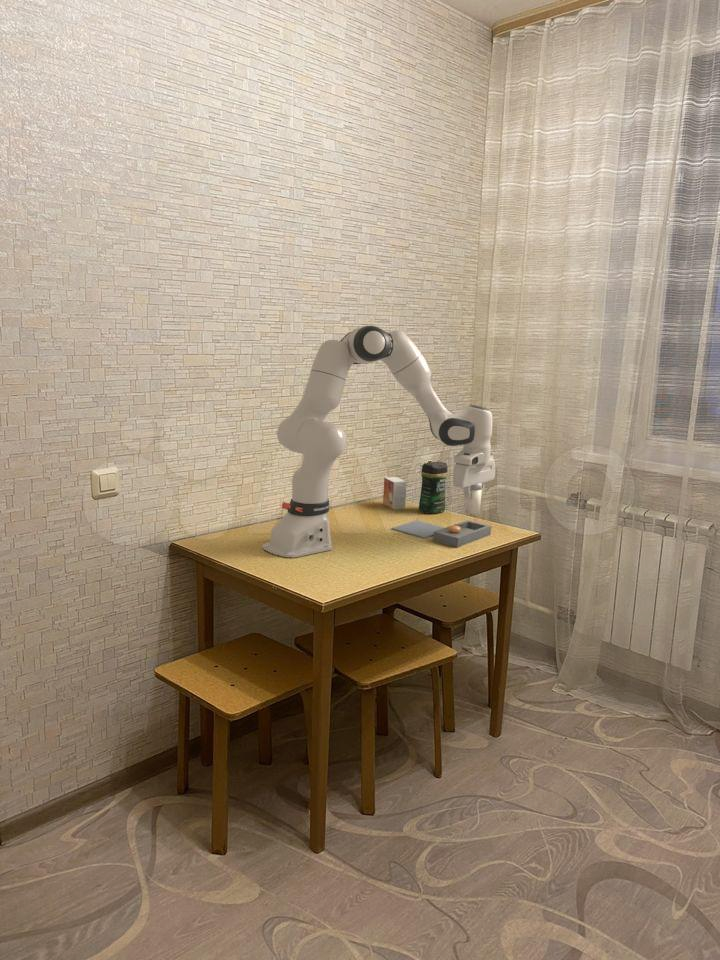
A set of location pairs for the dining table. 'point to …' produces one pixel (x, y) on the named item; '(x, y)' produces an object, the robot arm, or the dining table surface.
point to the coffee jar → (433, 487)
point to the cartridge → (474, 500)
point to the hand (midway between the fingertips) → (473, 497)
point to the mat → (418, 528)
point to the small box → (394, 492)
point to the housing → (462, 533)
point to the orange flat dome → (454, 529)
